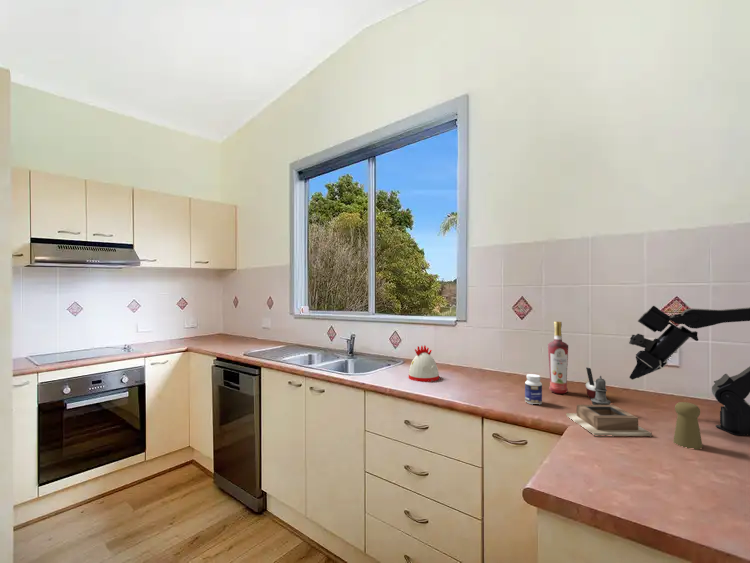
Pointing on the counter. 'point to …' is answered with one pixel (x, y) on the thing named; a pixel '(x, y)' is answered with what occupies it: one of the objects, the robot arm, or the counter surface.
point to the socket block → (607, 421)
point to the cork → (687, 426)
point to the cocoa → (590, 384)
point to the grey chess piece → (600, 393)
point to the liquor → (558, 362)
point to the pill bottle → (533, 389)
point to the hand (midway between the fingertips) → (633, 377)
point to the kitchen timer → (423, 366)
